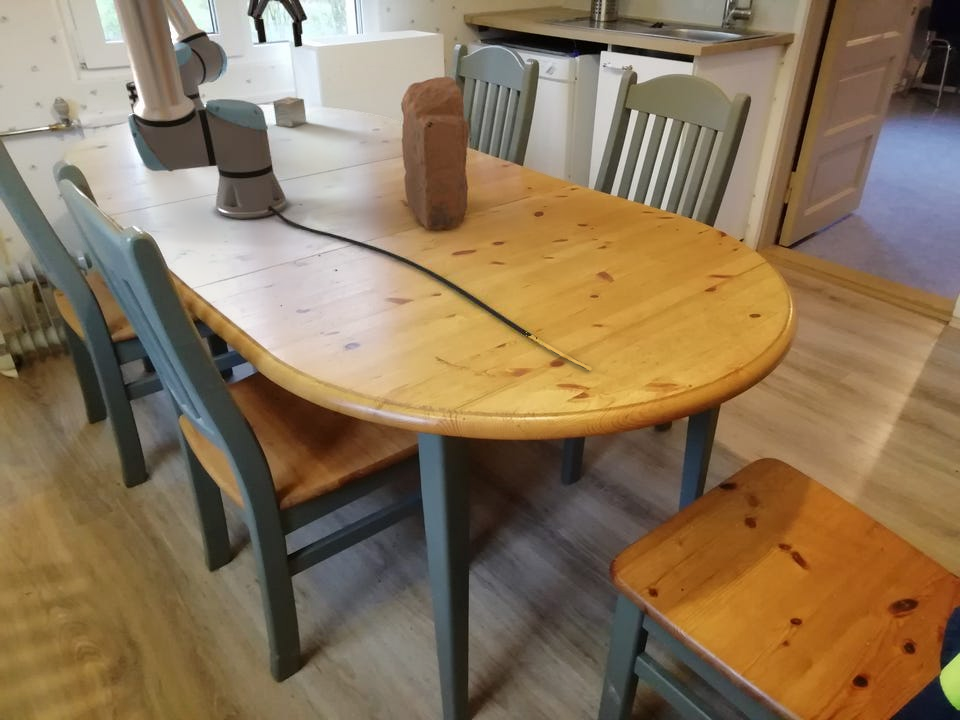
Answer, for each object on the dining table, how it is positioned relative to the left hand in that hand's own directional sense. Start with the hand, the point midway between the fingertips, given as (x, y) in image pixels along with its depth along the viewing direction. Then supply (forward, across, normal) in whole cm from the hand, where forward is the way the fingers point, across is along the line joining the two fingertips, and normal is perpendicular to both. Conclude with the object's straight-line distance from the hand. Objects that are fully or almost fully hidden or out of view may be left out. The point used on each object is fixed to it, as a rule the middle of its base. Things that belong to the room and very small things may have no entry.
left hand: (280, 44), depth 210 cm
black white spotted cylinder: (+13, +4, +49) cm, 51 cm away
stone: (+23, -80, +50) cm, 98 cm away
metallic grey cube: (+24, 0, 0) cm, 24 cm away
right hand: (-17, -4, +51) cm, 54 cm away
